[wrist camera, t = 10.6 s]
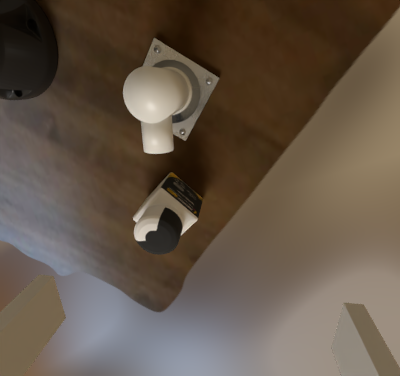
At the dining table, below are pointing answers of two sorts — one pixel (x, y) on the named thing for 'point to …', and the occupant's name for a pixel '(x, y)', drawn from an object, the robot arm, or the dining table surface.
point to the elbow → (157, 103)
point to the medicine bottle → (166, 215)
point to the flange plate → (198, 77)
